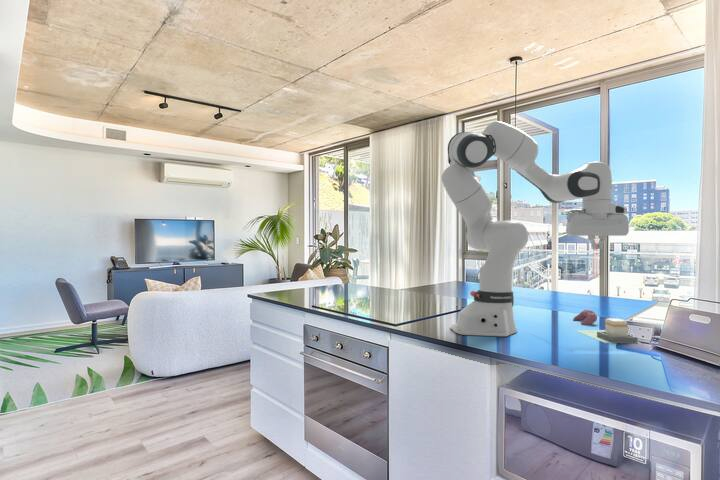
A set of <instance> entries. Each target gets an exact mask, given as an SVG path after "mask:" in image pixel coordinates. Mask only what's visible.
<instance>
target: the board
mask: <svg viewBox="0 0 720 480" xmlns="http://www.w3.org/2000/svg"><path fill="white" fill-rule="evenodd" d="M574 331H575V332H578V333H580V334H582V335H585V336H587V337H589V338H592V339H593V340H597V341H598V342H602V343H604V344H641V341H638V336H635V335H632V334H629V333H627V337H612V336H609V335H607V334H605V329H593V330H592V329H591V330H589V329H587V330H586V329H585V330H582V329H581V330H580V329H579V330H577V329H575V330H574Z"/></svg>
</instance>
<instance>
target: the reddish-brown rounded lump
mask: <svg viewBox="0 0 720 480" xmlns="http://www.w3.org/2000/svg"><path fill="white" fill-rule="evenodd" d="M597 320H598V315H597V314H596V312H595V311H593V310H590V309H584V310H582V311H581V312H580V313H579V314H577V315H575V316H574V318H573V319H572V321H573V322H580V326H581V325H582V326H591V325H593V324H594V323H596V322H597Z"/></svg>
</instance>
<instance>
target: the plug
mask: <svg viewBox="0 0 720 480" xmlns="http://www.w3.org/2000/svg"><path fill="white" fill-rule="evenodd" d="M604 324H605V327H604V328H605V329H604V330H605V334H607V335H609V336H612V337H627V334H628V321H627V320H624V319H621V318H605V323H604Z"/></svg>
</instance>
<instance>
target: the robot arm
mask: <svg viewBox="0 0 720 480" xmlns="http://www.w3.org/2000/svg"><path fill="white" fill-rule="evenodd" d="M538 154H539V145H538V143H537V142H536V141H535V139H534V138H532V136H530V135H529V134H527V133H526V132H524V131H522V130H521V129H519V128H517V127H515V126H513V125H511V124H509V123H506V122H503V121H502V120H501V121H500V120H495V121H493V122H491V123H489V124H488V125H487V126H486V127H485V128H484V130H483V131H482V132H481V133H476V132H471V131H461V132H458V133H456V134H454V135H453V136H452V137H451V138H450V139H449V142H448V144H447V162H448V164H449V166H448V167H446V168H445V170H444V171H443V173H442V174H441V182H442V184H443V187H444V189H445V191H446V193H447V195H448V197H449V199H451V201H452V203H453V204H454V206H455V208H456V209H457V211H458V213H459V214H460V215H461V216H462V218H463V221H464V223H465V226H466V229H467V230H466V234H465V239H466V243H467V244H468V246H469V247H470V248H471V249H474V250H476V251H480V252H488V254H487V257H486V260H485V262H484V263H483V264H482V265H481V266H480V268H479V271H478V272H479V273H478V274H479V277H478V278H479V280H478V282H479V283H478V284H479V289H478V290H476V291H475V290H470V293H469V296H470V297H473V301H472V302H470V303H469V304H468V305H466V306H464V308H462V309H460V311H459V313H458V316H457V322H456V323H453V324H451V326H450V328H451V330H452V331H453V332H454V333H455V334H458V335H463V336H483V337H484V336H487V337H490V336H491V337H509V336H510V335H513V334H516V333H517V332H518V331H517V328H516V323H515V318H514V311H513V310H514V309H513V307H514V299H515V298H514V292H513V270H514V265H515V262H516V259H517V257H518V255H519V253H520V252H521V251H522V250H523V249H524V248H525V247H526V245H527V243H528V240H529V231H528V230H527V227H526V226H525V225H524V224H523V223H521V222H518V221H513V220H510V219H509V220H495V219H494V218H493V216H492V214H491V210H492V207H493V201H492V200H491V198H490V197H489V195H488V193H487V192H486V190H485V189H484V187H483V185H482V184H481V182H480V181H479V180H478V178H477V176H476V174H475V168H479V167H481V166H483V165H484V164H485V163H486V162H487V161H488V160H490V158H491V157H492V156H494V157H496V158H498V159H499V160H500V161H502V162H503V163H506V164H507V165H508V166H510V167H511V168H512V169H513V170H514V171H515V172H516V173H517V174H518V175H520V176H521V177H522V178H524V180H526V181H528V182H529V183H531V184H532V185H533V186H534V187H535V188H537V190H539V192H540V193H541V194H542V196H543V197H544V198H545V199H546V200H547V201H548V202H550V203H552V204H559V203H562V202H566V201H574V200H580V199H582V200H581V201H582V208H580V209H578V208H577V209H574V208H573V209H571V210H569V211H568V212H567V213H566V220H567V222H566V227H565V233H566V235H567V236H570V237H572V236H573V237H575V236H576V237H577V236H578V237H579V236H580V237H583V236H584V237H587V239H588V241H589V243H590V244H591V246H590V248H591V249H592V250H602V249H603V248H604V247H603V244H604V243H605V241H606V239H607V237H608V236H609V237H611V236H613V237H615V236H617V237H618V236H620V237H621V236H622V237H623V236H624V237H625V236H627V235H628V234H629V231H630V225H629V224H630V223H629V217H628V216H627V213H628V209H627V207H625V206H622V205H619V204H616V203H614V202H613V198H612V195H611V191H612V188H613V185H612V184H613V183H612V181H613V179H612V170H611V168H610V165H609V164H608V163H606V162H604V161H589V162H586V163H585V164H584V165H583V166H582V167H580V168H576V169H575V170H573V171H569V172H565V173H561V174H551V173H549V172H547V171H546V170H545V169H544V168H542V167H541V166H540V165H539V164H537V162H535V160H537V157H538ZM596 236H597V237H598V239H599V240H598V243H597V242H596V241H595V239H596Z"/></svg>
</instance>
